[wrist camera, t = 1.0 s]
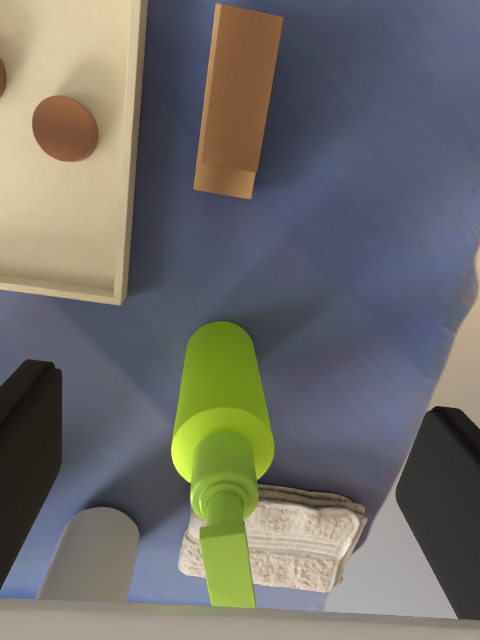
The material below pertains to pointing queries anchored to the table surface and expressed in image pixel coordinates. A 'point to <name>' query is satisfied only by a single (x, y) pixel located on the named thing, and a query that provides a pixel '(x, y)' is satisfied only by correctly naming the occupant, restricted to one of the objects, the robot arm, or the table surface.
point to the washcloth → (290, 538)
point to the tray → (70, 177)
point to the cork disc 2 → (65, 129)
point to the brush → (236, 99)
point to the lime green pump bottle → (223, 452)
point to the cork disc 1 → (2, 78)
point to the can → (93, 558)
